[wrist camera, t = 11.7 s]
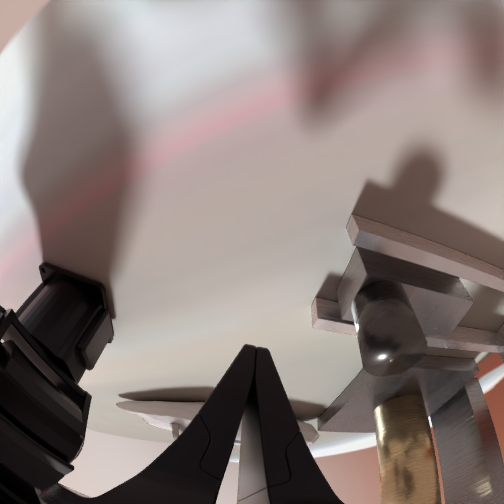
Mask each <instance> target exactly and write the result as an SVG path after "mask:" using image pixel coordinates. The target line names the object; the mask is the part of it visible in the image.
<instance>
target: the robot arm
mask: <svg viewBox="0 0 504 504" xmlns="http://www.w3.org/2000/svg"><path fill="white" fill-rule="evenodd" d="M39 270H40V274H41V278H42V281H43V282H42V283H41V284H40V285H39V287H38V288H37V289H36V290H35V291H34V292H33V293H32V294H31V295H30V297H29V298H28V299H27V300H26V301H25V302H24V303H23V305H22V306H21V307H20V308H19V309H18V310H17V312H16V313H15V312H14V311H13V309H12V308H11V309H8V310H5V309H4V308H3V307H1V306H0V504H216V500H217V496H218V493H219V489H220V486H221V483H222V480H223V477H224V474H225V471H226V467H227V465H228V462H229V458H230V455H231V452H232V449H233V446H234V443H235V439H236V436H237V433H238V430H239V426H240V423H241V420H242V427H241V444H240V461H239V478H238V497H237V501H238V502H237V504H344V503H343V502H342V501H341V500H340V499H339V498H338V497H337V496H336V494H335V493H334V492H333V490H332V489H331V487H330V485H329V484H328V482H327V481H326V479H325V477H324V475H323V474H322V472H321V471H320V469H319V467H318V465H317V464H316V462H315V460H314V458H313V456H312V454H311V452H310V450H309V448H308V446H307V444H306V441H305V439H304V437H303V434H302V432H301V431H300V427H299V425H298V422H297V420H296V417H295V415H294V412H293V410H292V407H291V405H290V402H289V400H288V397H287V395H286V392H285V390H284V387H283V385H282V382H281V380H280V377H279V375H278V372H277V369H276V367H275V364H274V362H273V359H272V357H271V354H270V351H269V350H268V349H267V348H263V347H257V348H256V346H254V345H249V344H245V345H244V346H243V347H242V349H241V350H240V352H239V353H238V355H237V356H236V358H235V359H234V361H233V362H232V364H231V365H230V367H229V368H228V370H227V371H226V373H225V374H224V376H223V377H222V379H221V380H220V381H219V383H218V384H217V386H216V387H215V389H214V390H213V392H212V393H211V394H210V396H209V397H208V399H207V400H206V402H205V403H204V404H203V406H202V407H201V409H200V410H199V411H198V414H196V415H195V417H194V418H193V420H192V421H191V422H190V424H189V425H188V426H187V427H186V429H185V430H184V431H183V432H182V433H181V435H180V436H179V437H178V438H177V439H176V440H175V441H174V442H173V443H172V444H171V445H170V446H169V447H168V448H167V449H166V450H165V451H164V452H163V453H162V454H160V455H159V457H157V458H156V459H155V460H154V461H153V462H152V463H151V464H150V465H149V466H147V467H146V468H145V469H144V470H143V471H141V472H140V473H139V474H137V475H136V476H134V477H133V478H131V479H129V480H128V481H126V482H124V483H122V484H121V485H119V486H117V487H115V488H113V489H111V490H110V491H108V492H106V493H104V494H102V495H100V496H98V497H93V498H91V497H89V496H86V495H84V494H81V493H79V492H77V491H75V490H72V489H70V488H68V487H66V486H64V485H61V484H59V483H58V482H59V480H60V479H62V478H63V477H64V476H65V475H66V474H68V473H70V472H72V471H73V470H74V466H73V465H71V464H70V463H71V462H72V461H73V460H74V459H75V458H76V457H77V456H78V455H79V453H80V452H81V450H82V447H83V444H84V439H85V432H86V426H87V420H88V414H89V409H90V403H91V398H92V396H91V395H90V394H89V393H88V392H87V391H84V390H83V389H82V388H81V387H80V386H79V385H78V383H79V381H80V379H81V378H82V376H83V374H84V372H85V370H86V369H87V370H89V371H90V370H92V369H93V368H94V366H95V364H96V362H97V360H98V358H99V357H100V355H101V353H102V351H103V350H104V348H105V346H106V344H107V343H111V342H112V341H113V331H112V326H111V320H110V315H109V312H108V307H107V300H106V294H105V289H104V287H103V285H102V284H100V283H98V282H96V281H93V280H90V279H87V278H84V277H82V276H79V275H76V274H73V273H71V272H68V271H65V270H63V269H60V268H57V267H55V266H52V265H50V264H47V263H44V262H43V263H42V264H41V265H40V266H39ZM1 339H3V340H4V341H5V342H3V343H1ZM299 431H300V432H299Z"/></svg>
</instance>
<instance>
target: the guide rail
mask: <svg viewBox="0 0 504 504" xmlns="http://www.w3.org/2000/svg"><path fill="white" fill-rule="evenodd" d="M346 229H347V231H348V234H349V237H350V239H351V242H352V244H353V245H354V246H358V247H361V248H365V249H368V250H372V251H375V252H379V253H382V254H385V255H389V256H392V257H396V258H399V259H402V260H406V261H409V262H412V263H416V264H419V265H422V266H425V267H429V268H432V269H435V270H438V271H441V272H445V273H448V274H451V275H454V276H457V277H460V278H463V279H466V280H469V281H472V282H475V283H478V284H481V285H484V286H487V287H490V288H493V289H496V290H499V291H502V292H504V270H502V269H500V268H498V267H496V266H493V265H491V264H489V263H486V262H484V261H481V260H479V259H477V258H474V257H472V256H469V255H467V254H464V253H462V252H459V251H457V250H454V249H451V248H449V247H446V246H444V245H441V244H438V243H436V242H433V241H430V240H427V239H425V238H422V237H419V236H416V235H413V234H411V233H408V232H405V231H402V230H399V229H396V228H393V227H390V226H387V225H384V224H381V223H378V222H375V221H372V220H369V219H366V218H362V217H359V216H356V215H353V214H351V216H350V219H349V221H348V224H347V226H346ZM311 313H312V327H313V328H315V329H321V330H326V331H331V332H337V333H342V334H348V335H354V336H357V333H356V328H355V324H354V321H349V320H343V319H342V316H341V310H340V305H339V302H334V301H330V300H325V299H321V298H316V297H315V300H314V302H313V304H312V306H311ZM424 335H425V338H426V340H427V345H428V346H429V347H438V348H447V349H457V350H468V351H480V352H494V353H500V355H501V358H502V360H503V362H504V324H503V325H502V326H501V328H500V329H499V330H498V332H492V331H486V330H479V329H473V328H468V327H462V326H456V327H455V329H454V330H453V331H452V333H451V334H450V335H449V336H448V337H444V336H437V335H430V334H424Z"/></svg>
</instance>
